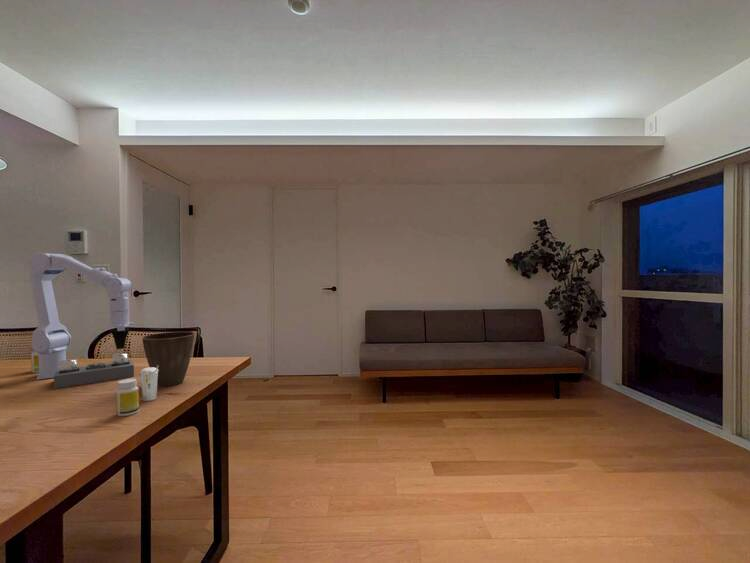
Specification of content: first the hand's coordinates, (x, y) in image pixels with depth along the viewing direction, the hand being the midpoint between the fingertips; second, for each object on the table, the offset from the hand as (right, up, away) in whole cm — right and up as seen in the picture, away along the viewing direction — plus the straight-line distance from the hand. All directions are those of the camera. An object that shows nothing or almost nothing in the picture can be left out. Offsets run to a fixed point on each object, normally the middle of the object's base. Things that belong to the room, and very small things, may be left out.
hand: (120, 348), depth 127 cm
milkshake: (+27, -10, -25) cm, 39 cm away
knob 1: (-11, -7, -9) cm, 15 cm away
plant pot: (+24, -10, -10) cm, 28 cm away
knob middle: (-5, -9, -4) cm, 11 cm away
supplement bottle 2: (+28, -10, -35) cm, 46 cm away
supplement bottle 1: (-35, -10, +7) cm, 37 cm away
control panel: (-5, -10, -4) cm, 12 cm away
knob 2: (0, -6, 0) cm, 6 cm away
